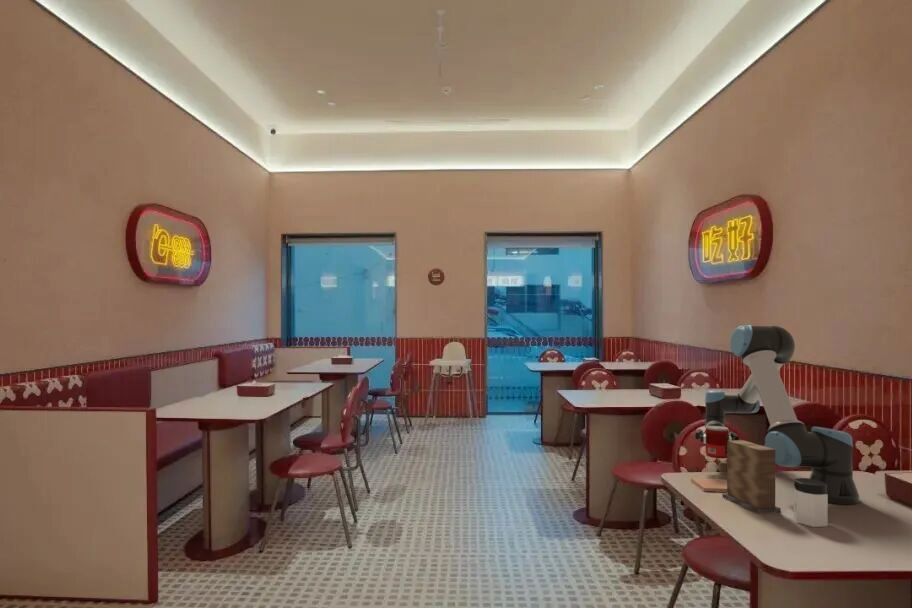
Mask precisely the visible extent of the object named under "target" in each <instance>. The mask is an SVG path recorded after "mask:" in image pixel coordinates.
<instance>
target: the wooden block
mask: <svg viewBox="0 0 912 608" xmlns="http://www.w3.org/2000/svg"><path fill="white" fill-rule="evenodd" d="M726 461H727V462H726V465H727V466H726V467H727V468H726V471H727V472H726V477H727V478H726V481H727V492H725V493H722V498H723V497H724V499H725V498H726V499H725V500H727V499H728V501H730V502H732V503H734V502H735V503H734V504H736V503H737V505H739V506H741V507H743V508H746V509H748V510H750V511H753V512H755V513H757V514H759V513H760V514H772V513H781V507H779V506H777V505H776V463H775V449H772V448H768V447H765V445H761V444H757V443H754V442H750V441H747V440H744V439H739V440H732V441H727V458H726Z"/></svg>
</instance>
